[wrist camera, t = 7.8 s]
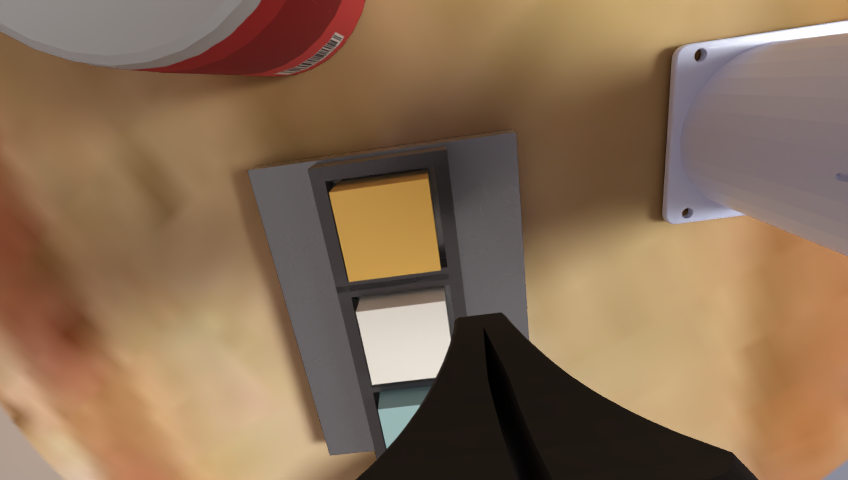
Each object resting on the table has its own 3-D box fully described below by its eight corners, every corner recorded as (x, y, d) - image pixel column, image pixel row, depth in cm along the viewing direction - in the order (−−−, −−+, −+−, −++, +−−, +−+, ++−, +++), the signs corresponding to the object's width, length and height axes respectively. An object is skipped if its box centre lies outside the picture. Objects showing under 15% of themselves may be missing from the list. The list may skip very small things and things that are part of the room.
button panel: (510, 129, 19) (523, 135, 17) (529, 417, 25) (541, 453, 23) (257, 165, 20) (234, 177, 17) (334, 439, 26) (324, 476, 23)
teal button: (456, 373, 22) (459, 400, 20) (464, 431, 24) (467, 461, 22) (381, 382, 22) (377, 409, 21) (393, 439, 24) (391, 469, 22)
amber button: (427, 168, 18) (428, 178, 17) (439, 252, 20) (440, 270, 18) (338, 181, 19) (328, 192, 17) (356, 263, 20) (349, 281, 18)
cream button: (443, 281, 20) (445, 301, 18) (452, 350, 22) (455, 375, 20) (361, 291, 20) (355, 312, 19) (376, 359, 22) (372, 384, 20)
